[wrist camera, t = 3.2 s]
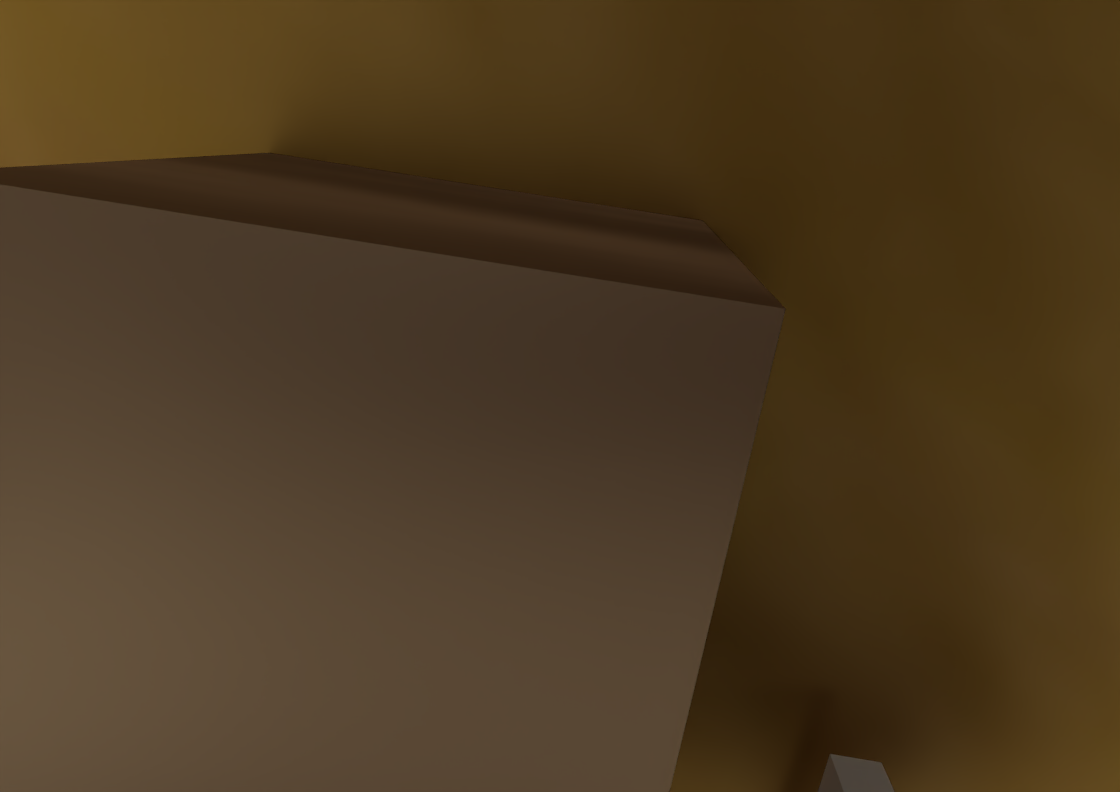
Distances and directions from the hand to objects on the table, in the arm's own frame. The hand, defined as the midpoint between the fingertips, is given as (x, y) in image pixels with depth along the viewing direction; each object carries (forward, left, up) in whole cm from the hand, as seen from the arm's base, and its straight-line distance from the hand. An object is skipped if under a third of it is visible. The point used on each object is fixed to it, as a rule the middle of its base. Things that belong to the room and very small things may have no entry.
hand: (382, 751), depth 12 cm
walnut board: (0, 0, -2) cm, 2 cm away
